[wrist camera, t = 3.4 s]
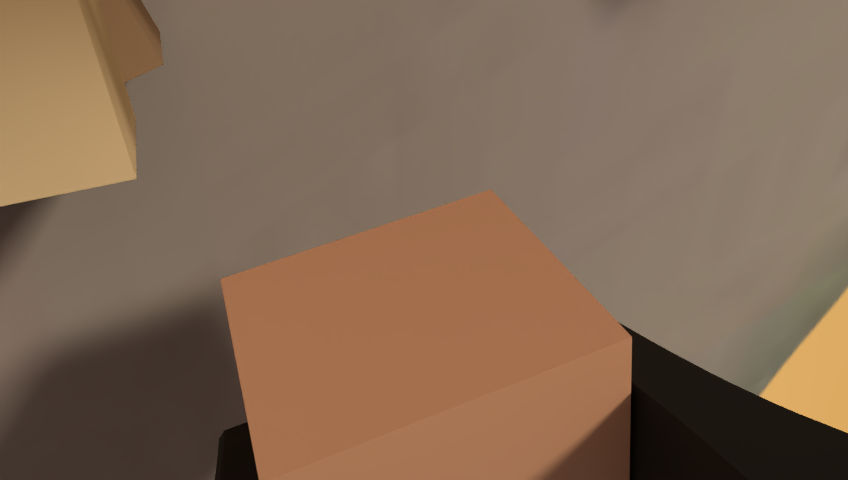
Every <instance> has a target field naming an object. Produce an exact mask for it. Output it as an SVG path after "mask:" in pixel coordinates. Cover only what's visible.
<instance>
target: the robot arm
mask: <svg viewBox="0 0 848 480" xmlns="http://www.w3.org/2000/svg"><path fill="white" fill-rule="evenodd" d="M618 323H619V322H618ZM619 324H620V323H619ZM620 325H621V326H622V327H623V328H624V329H625V330H626V331H627V332H628V333H629V334H630V335H631V336H632V370H631V423H630V476H629V480H848V433H846V432H843V431H841V430H838V429H836V428H833V427H831V426H828V425H826V424H823V423H820V422H818V421H815V420H813V419H810V418H808V417H805V416H803V415H800V414H798V413H795V412H793V411H791V410H788V409H786V408H784V407H781V406H779V405H777V404H775V403H772V402H770V401H768V400H765V399H763V398H761V397H759V396H757V395H755V394H753V393H751V392H749V391H746V390H744V389H742V388H740V387H738V386H736V385H734V384H732V383H730V382H728V381H726V380H724V379H722V378H720V377H718V376H716V375H714V374H712V373H710V372H708V371H706V370H704V369H702V368H700V367H698V366H696V365H694V364H693V363H691V362H689V361H687V360H685V359H683V358H681V357H679V356H677V355H676V354H674V353H672V352H670V351H668V350H666V349H665V348H663V347H661V346H659V345H657V344H655V343H654V342H652V341H650V340H648V339H647V338H645V337H643V336H641V335H640V334H638V333H636V332H634V331H633V330H631V329H629V328H627V327H626V326H624V325H622V324H620ZM215 480H259V478H258V473H257V468H256V462H255V457H254V452H253V447H252V442H251V436H250V431H249V426H248V422H247V423H244V424H241V425H238V426H236V427H233V428H230V429H228V430H225V431H224V432H223V434H222V435H221V437H220V438H219V448H218V459H217V467H216V475H215Z"/></svg>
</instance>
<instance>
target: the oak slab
mask: <svg viewBox="0 0 848 480" xmlns="http://www.w3.org/2000/svg"><path fill="white" fill-rule="evenodd" d="M133 179H136V120H135V115H134V111H133V108H132V105H131V102H130V99H129V95H128V92H127V89H126V86H125V83H124V79H123V76H122V73H121V70H120V67H119V63H118V60H117V57H116V54H115V51H114V47H113V44H112V41H111V38H110V35H109V31H108V28H107V25H106V22H105V19H104V15H103V12H102V9H101V6H100V3H99V0H0V207H1V206H6V205H11V204H15V203H20V202H25V201H30V200H35V199H40V198H45V197H50V196H55V195H60V194H64V193H69V192H74V191H79V190H84V189H89V188H94V187H99V186H104V185H108V184H113V183H118V182H123V181H128V180H133Z"/></svg>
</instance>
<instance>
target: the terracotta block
mask: <svg viewBox="0 0 848 480" xmlns="http://www.w3.org/2000/svg"><path fill="white" fill-rule="evenodd" d="M220 280H221V285H222V290H223V296H224V301H225V306H226V311H227V317H228V322H229V327H230V332H231V337H232V343H233V348H234V353H235V358H236V363H237V369H238V374H239V379H240V384H241V389H242V395H243V400H244V405H245V410H246V415H247V421H248V426H249V431H250V436H251V442H252V447H253V452H254V457H255V462H256V468H257V473H258V478H259V480H629V476H630V423H631V370H632V336H631V335H630V334H629V333H628V332H627V331H626V330H625V329H624V328H623V327H622V326H621V325H620V324H619V323H618V322H617V321H616V320H615V319H614V318H613V317H612V315H611V314H610V313H609V312H608V311H607V310H606V309H605V308H604V307H603V306H602V305H601V304H600V303H599V302H598V301H597V300H596V299H595V298H594V297H593V296H592V295H591V294H590V293H589V291H588V290H587V289H586V288H585V287H584V286H583V285H582V284H581V283H580V282H579V281H578V280H577V279H576V278H575V277H574V276H573V275H572V274H571V273H570V272H569V271H568V270H567V268H566V267H565V266H564V265H563V264H562V263H561V262H560V261H559V260H558V259H557V258H556V257H555V256H554V255H553V254H552V253H551V252H550V251H549V250H548V249H547V248H546V247H545V246H544V244H543V243H542V242H541V241H540V240H539V239H538V238H537V237H536V236H535V235H534V234H533V233H532V232H531V231H530V230H529V229H528V228H527V227H526V226H525V225H524V224H523V223H522V221H521V220H520V219H519V218H518V217H517V216H516V215H515V214H514V213H513V212H512V211H511V210H510V209H509V208H508V207H507V206H506V205H505V204H504V203H503V202H502V201H501V200H500V199H499V197H498V196H497V195H496V194H495V193H494V192H493V191H492V190H488V191H485V192H482V193H479V194H476V195H473V196H470V197H467V198H464V199H461V200H458V201H455V202H452V203H449V204H446V205H443V206H440V207H437V208H434V209H431V210H428V211H425V212H422V213H419V214H416V215H413V216H410V217H407V218H404V219H401V220H397V221H394V222H391V223H388V224H385V225H382V226H379V227H376V228H373V229H370V230H367V231H364V232H361V233H358V234H355V235H352V236H349V237H346V238H343V239H340V240H337V241H334V242H331V243H328V244H325V245H322V246H319V247H316V248H313V249H310V250H307V251H304V252H301V253H298V254H295V255H292V256H289V257H286V258H283V259H280V260H277V261H274V262H271V263H268V264H265V265H262V266H259V267H256V268H253V269H250V270H247V271H243V272H240V273H237V274H234V275H231V276H228V277H225V278H222V279H220Z"/></svg>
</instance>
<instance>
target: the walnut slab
mask: <svg viewBox="0 0 848 480" xmlns="http://www.w3.org/2000/svg"><path fill="white" fill-rule="evenodd" d="M99 3H100V6H101V9H102V12H103V15H104V19H105V22H106V25H107V28H108V31H109V35H110V38H111V41H112V44H113V47H114V51H115V54H116V57H117V60H118V63H119V67H120V70H121V73H122V76H123V79H124V83H125V82H127V81H129V80H131V79H133V78H135V77H137V76H140V75H142V74H144V73H146V72H148V71H150V70H152V69H154V68H156V67H159V66H161V65H163V58H162V50H161V41H160V32H159V30H158V28H157V26H156V25H155V23H154V21H153V20H152V18H151V16H150V15H149V13H148V11H147V10H146V8H145V6H144V5H143V3H142V1H141V0H99Z"/></svg>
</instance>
